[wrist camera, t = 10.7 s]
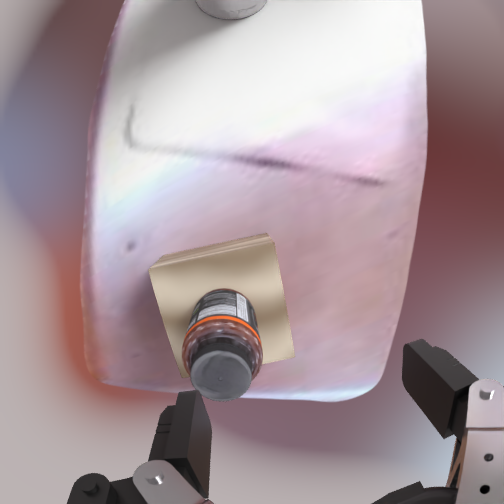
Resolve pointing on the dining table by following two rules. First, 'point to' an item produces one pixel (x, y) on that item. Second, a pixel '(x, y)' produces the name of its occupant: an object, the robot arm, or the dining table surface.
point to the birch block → (224, 276)
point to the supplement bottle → (222, 345)
